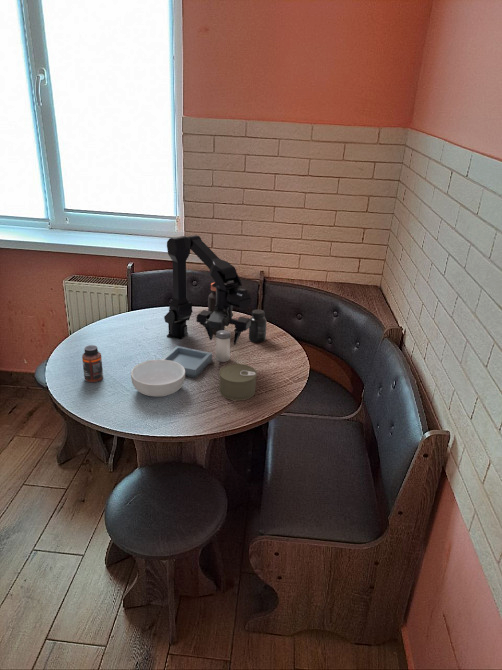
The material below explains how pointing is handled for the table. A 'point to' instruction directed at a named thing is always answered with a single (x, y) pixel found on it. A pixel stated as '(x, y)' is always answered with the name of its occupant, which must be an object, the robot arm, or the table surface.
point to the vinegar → (211, 305)
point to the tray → (189, 359)
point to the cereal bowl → (158, 377)
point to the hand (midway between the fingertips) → (223, 342)
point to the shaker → (223, 345)
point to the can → (237, 381)
